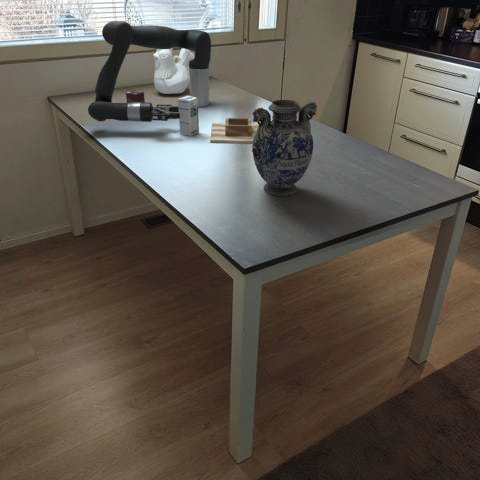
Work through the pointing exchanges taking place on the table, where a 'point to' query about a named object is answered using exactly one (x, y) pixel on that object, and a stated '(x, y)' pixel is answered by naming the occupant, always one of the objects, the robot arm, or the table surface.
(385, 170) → the table surface
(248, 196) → the table surface
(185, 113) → the syrup box
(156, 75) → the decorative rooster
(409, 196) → the table surface
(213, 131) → the socket board
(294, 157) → the decorative vase
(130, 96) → the box
